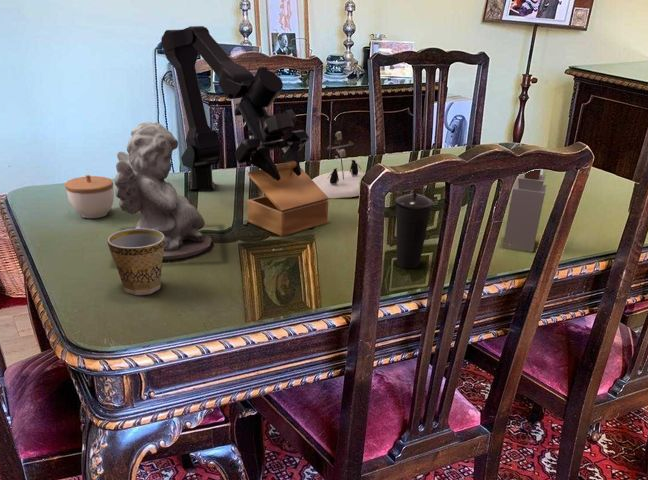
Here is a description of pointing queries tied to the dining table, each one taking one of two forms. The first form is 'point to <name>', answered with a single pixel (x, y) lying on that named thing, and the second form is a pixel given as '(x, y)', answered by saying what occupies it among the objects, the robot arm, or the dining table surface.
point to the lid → (288, 187)
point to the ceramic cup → (138, 259)
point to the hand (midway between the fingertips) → (289, 177)
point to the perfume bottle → (525, 211)
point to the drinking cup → (411, 228)
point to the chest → (285, 216)
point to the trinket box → (90, 195)
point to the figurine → (340, 176)
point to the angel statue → (159, 193)
